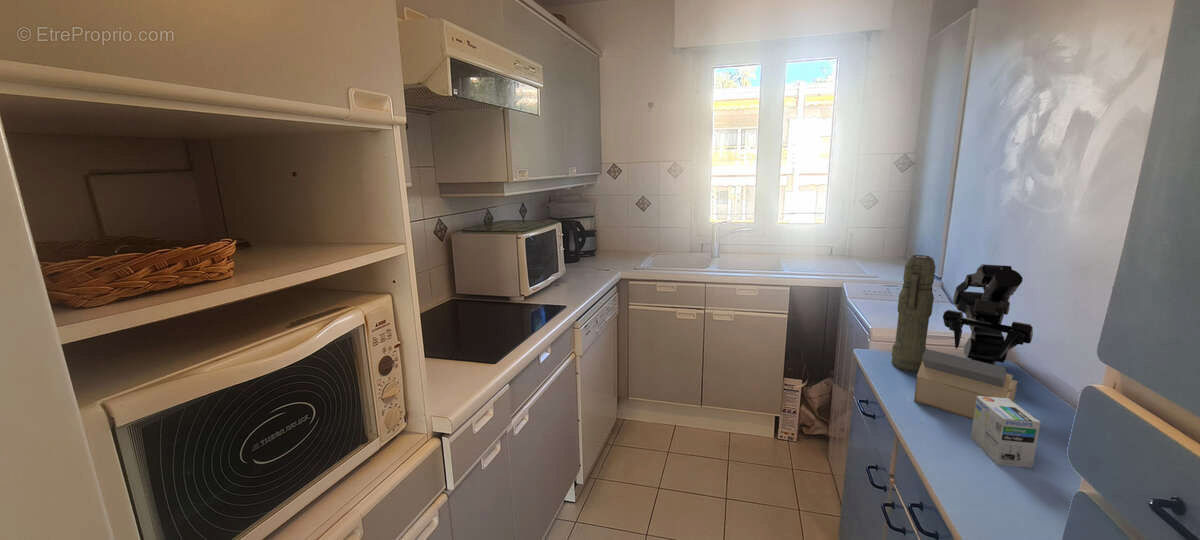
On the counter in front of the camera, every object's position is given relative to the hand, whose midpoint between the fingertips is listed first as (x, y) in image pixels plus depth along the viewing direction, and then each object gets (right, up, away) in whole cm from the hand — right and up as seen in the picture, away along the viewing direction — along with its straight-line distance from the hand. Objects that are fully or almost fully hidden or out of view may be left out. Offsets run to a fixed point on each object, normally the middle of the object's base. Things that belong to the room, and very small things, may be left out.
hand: (977, 352), depth 125 cm
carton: (-6, -13, -2) cm, 15 cm away
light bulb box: (-13, -18, -22) cm, 32 cm away
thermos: (-4, -8, +22) cm, 24 cm away
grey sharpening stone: (-9, -5, -7) cm, 13 cm away
